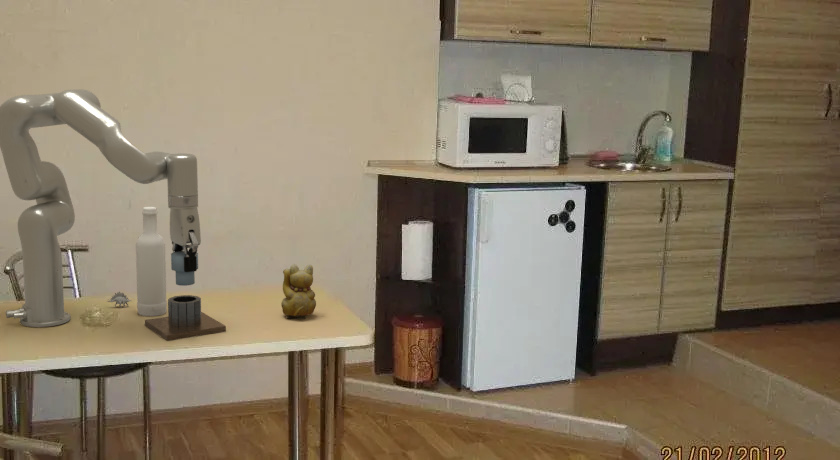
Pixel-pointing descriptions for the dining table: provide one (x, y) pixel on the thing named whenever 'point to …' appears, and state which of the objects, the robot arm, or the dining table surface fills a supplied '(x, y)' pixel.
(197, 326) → the copper square plate
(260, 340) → the dining table surface
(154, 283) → the bottle
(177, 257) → the cap
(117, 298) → the stegosaurus
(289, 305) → the decorative figurine
